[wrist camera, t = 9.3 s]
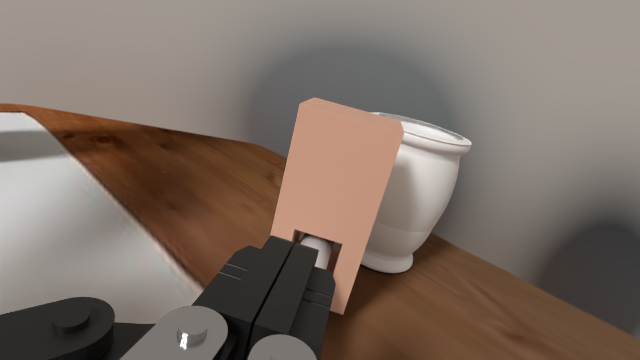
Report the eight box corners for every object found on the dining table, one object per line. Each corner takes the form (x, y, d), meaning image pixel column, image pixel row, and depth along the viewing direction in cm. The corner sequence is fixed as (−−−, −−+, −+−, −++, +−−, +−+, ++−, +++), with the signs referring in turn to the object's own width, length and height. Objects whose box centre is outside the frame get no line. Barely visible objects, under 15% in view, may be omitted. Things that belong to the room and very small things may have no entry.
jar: (408, 296, 33) (469, 149, 28) (316, 250, 37) (354, 112, 32) (427, 253, 42) (475, 136, 37) (352, 219, 46) (386, 109, 41)
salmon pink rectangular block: (343, 314, 26) (404, 132, 21) (258, 287, 27) (299, 103, 22) (348, 277, 31) (400, 121, 26) (277, 254, 32) (314, 97, 27)
